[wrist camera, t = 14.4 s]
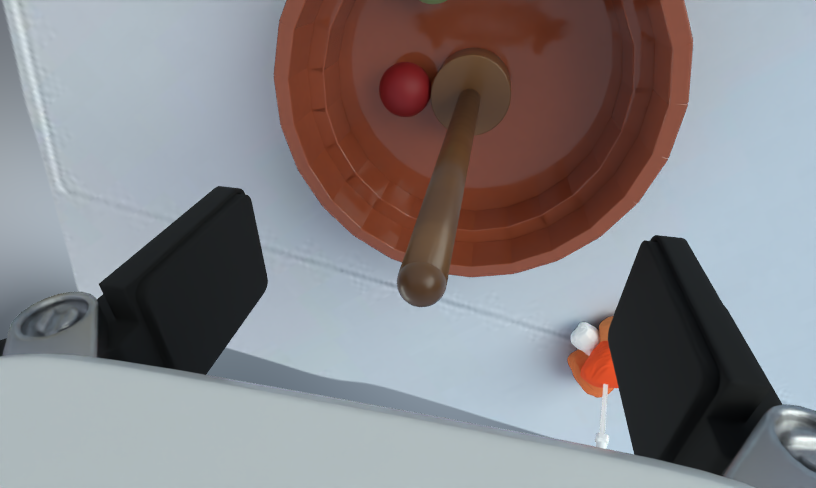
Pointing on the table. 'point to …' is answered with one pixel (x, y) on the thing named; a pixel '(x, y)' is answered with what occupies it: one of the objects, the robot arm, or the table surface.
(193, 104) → the table surface
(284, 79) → the bowl
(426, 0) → the green bead
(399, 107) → the red bead
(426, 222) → the wooden masher
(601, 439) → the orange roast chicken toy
